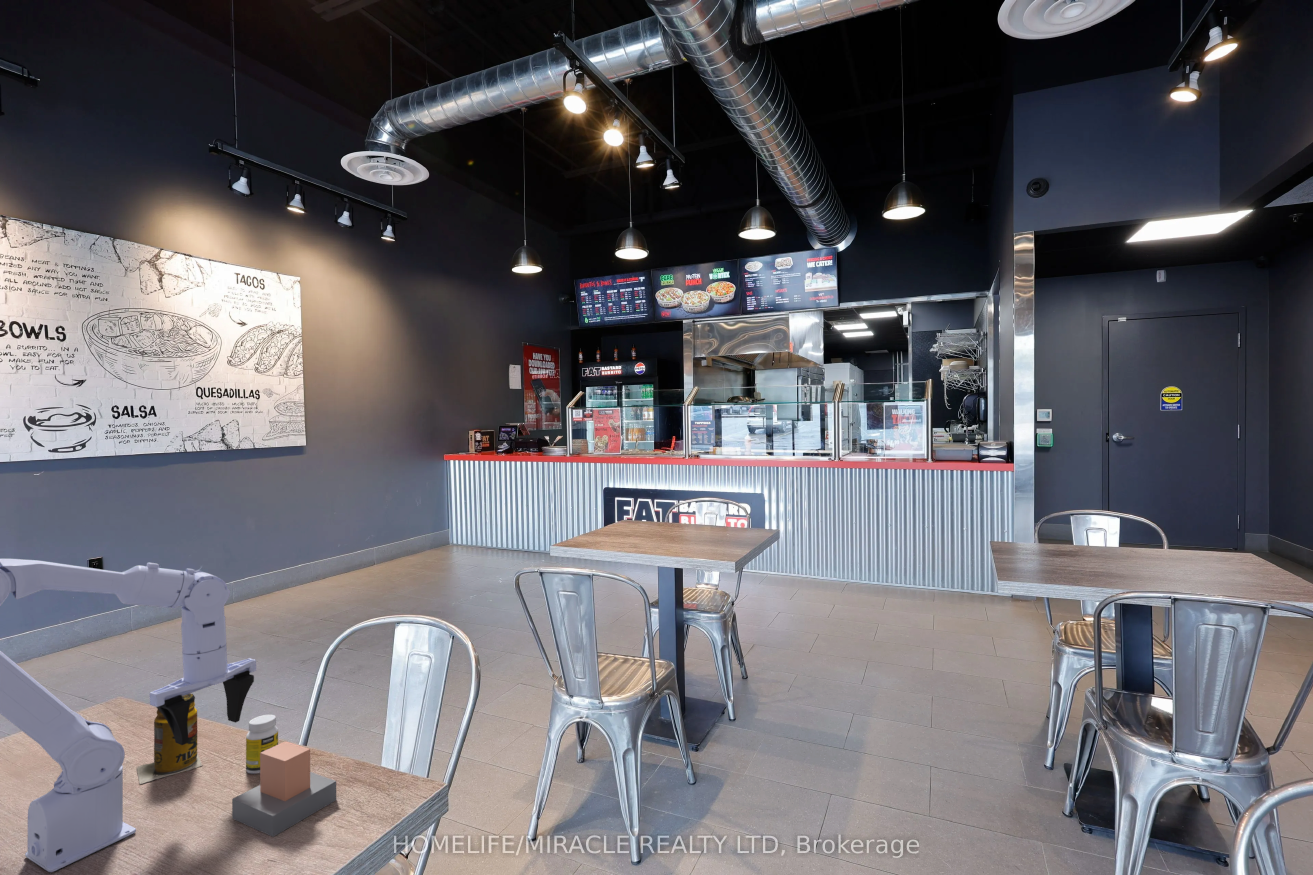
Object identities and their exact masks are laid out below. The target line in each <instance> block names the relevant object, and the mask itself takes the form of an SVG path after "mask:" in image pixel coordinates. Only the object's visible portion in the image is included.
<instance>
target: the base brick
mask: <svg viewBox="0 0 1313 875" xmlns="http://www.w3.org/2000/svg"><path fill="white" fill-rule="evenodd" d="M231 800H232V802H231V804H232V805H231V812H232V813H231V818H232V819H233V820H234V821H237V822H238V823H242V824H244V825H245V826H248V827H250V828H253V829H254V830H257V831H259V832H261V833H263V834H266V835H268V836H270V837H275V836H277V835H278V834H280V833H282V832H284V831H286V830H287V829H289V828H291V827H292V826H294V825H296V824H297V823H300V822H301V821H302V820H305V819H306V818H307V817H309V816H311V815H313V814H315V813H317V812H319V811H320V810H321V809H324V808H325V807H327V806H329V805H331V804H332V803H333V802H335V801H337V780H335V779H332V778H330V777H329V778H328V777H326V776H323V775H320V774H318V773H315V772H312V771H310V788H308V789H307V790H305V791H303V792H301V793H299V794H297V795H296V796H294V797H292V798H290V799H288V800H287V801H283V800H280V799H278V798H275V797H273V796H270V795H267V794H265V793H262V792H260V784H259V785H257V786H255V787H253V788H251V789H250V790H247V791H245V792H243V793H241V794H239V795H237V796H234V797H233V798H231Z"/></svg>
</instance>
